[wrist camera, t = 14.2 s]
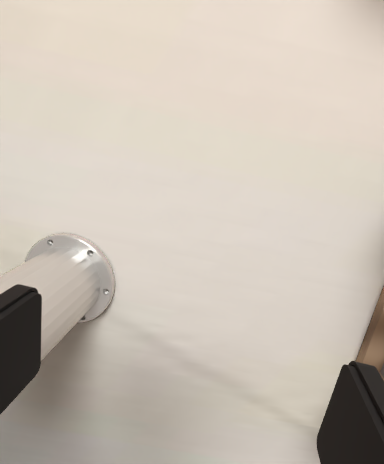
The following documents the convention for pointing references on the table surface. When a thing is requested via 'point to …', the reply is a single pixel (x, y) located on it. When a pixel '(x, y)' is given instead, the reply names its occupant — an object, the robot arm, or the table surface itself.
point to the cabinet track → (374, 339)
